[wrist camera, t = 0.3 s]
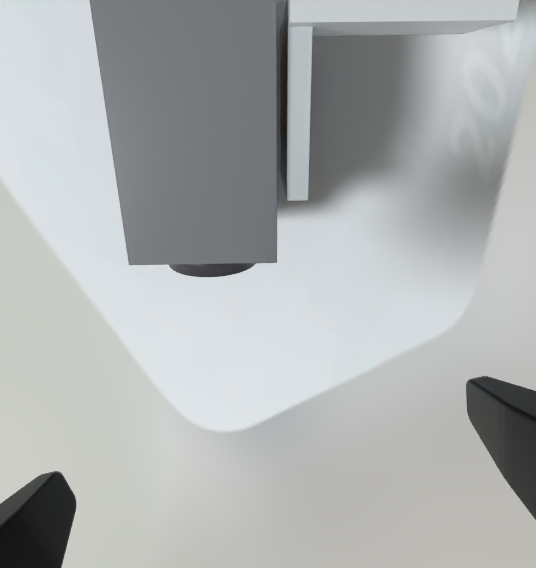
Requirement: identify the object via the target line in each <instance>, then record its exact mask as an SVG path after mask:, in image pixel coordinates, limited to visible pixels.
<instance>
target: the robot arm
mask: <svg viewBox="0 0 536 568" xmlns="http://www.w3.org/2000/svg"><path fill="white" fill-rule="evenodd" d="M466 396H467V412H468V416H469V419H470V421H471V423H472V425H473V426H474V428H475V430H476V431H477V433H478V435H479V436H480V438H481V440H482V442H483V443H484V445H485V447H486V448H487V450H488V451H489V453H490V455H491V457H492V458H493V460H494V462H495V464H496V465H497V467H498V468H499V470H500V472H501V473H502V475H503V477H504V478H505V479H506V481H507V482H508V484H509V485H510V486H511V488H512V489H513V490H514V492H515V493H516V494H517V496H518V497H519V498H520V500H521V501H522V502H523V504H524V505H525V506H526V508H527V509H528V510H529V512H530V513H531V514H532V516H533V517H534V518H535V519H536V391H534V390H531V389H527V388H524V387H521V386H517V385H514V384H511V383H507V382H504V381H501V380H497V379H494V378H491V377H488V376H482V377H478V378H473V379H470V380H468V381H467V384H466ZM75 511H76V499H75V496H74V494H73V492H72V490H71V489H70V487H69V485H68V483H67V482H66V480H65V478H64V476H63V475H62V473H60V472H58V471H55V472H50V473H46V474H42V475H40V476H38V477H37V478H35V479H34V480H33V481H31V482H30V483H28V484H27V485H25V486H24V487H23V488H21V489H20V490H19V491H17V492H16V493H14V494H13V495H12V496H10V497H9V498H8V499H6V500H5V501H4V502H2V503H1V504H0V568H61V566H62V563H63V559H64V554H65V551H66V547H67V543H68V538H69V535H70V531H71V527H72V523H73V519H74V515H75Z"/></svg>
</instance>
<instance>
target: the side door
mask: <svg viewBox="0 0 536 568" xmlns="http://www.w3.org/2000/svg"><path fill="white" fill-rule="evenodd" d="M518 6H519V0H284V20H283V23H282V26H281V29H280V173H281V177H282V182H283V186H284V190H285V195H286V199H287V201H301V200H308V181H309V143H310V105H311V66H312V36H340V35H431V34H464V33H468V32H472V31H476V30H479V29H483V28H487V27H491V26H495V25H499V24H503V23H507V22H510V21H514V20H516V16H517V11H518Z"/></svg>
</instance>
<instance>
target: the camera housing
mask: <svg viewBox="0 0 536 568" xmlns="http://www.w3.org/2000/svg"><path fill="white" fill-rule="evenodd" d="M90 6H91V13H92V20H93V26H94V33H95V40H96V46H97V53H98V60H99V66H100V73H101V80H102V87H103V93H104V100H105V107H106V113H107V120H108V127H109V134H110V140H111V147H112V154H113V160H114V167H115V174H116V180H117V187H118V194H119V201H120V207H121V214H122V221H123V227H124V234H125V241H126V248H127V254H128V261H129V265H163V264H169V266H170V268H171V269H173V270H174V271H176V272H178V273H181V274H184V275H189V276H195V277H219V276H227V275H232V274H236V273H240V272H242V271H245V270H247V269H249V268H251V267H252V266H254V265H255V264H256V263H277V96H276V0H90Z"/></svg>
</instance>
